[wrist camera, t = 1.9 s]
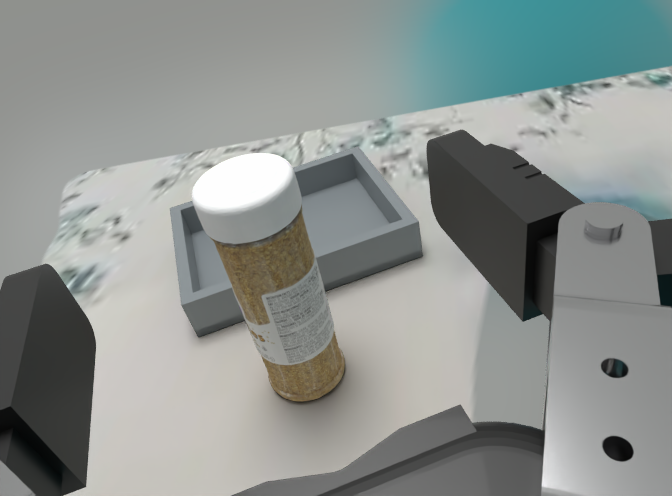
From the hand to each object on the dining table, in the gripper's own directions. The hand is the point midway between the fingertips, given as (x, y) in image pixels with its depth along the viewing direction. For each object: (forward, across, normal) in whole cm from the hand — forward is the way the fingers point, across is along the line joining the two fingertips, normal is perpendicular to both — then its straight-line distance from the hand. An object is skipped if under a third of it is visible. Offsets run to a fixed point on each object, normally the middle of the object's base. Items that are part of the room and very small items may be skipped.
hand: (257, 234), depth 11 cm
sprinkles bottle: (+11, 0, +18) cm, 21 cm away
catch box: (+23, -2, +18) cm, 29 cm away
